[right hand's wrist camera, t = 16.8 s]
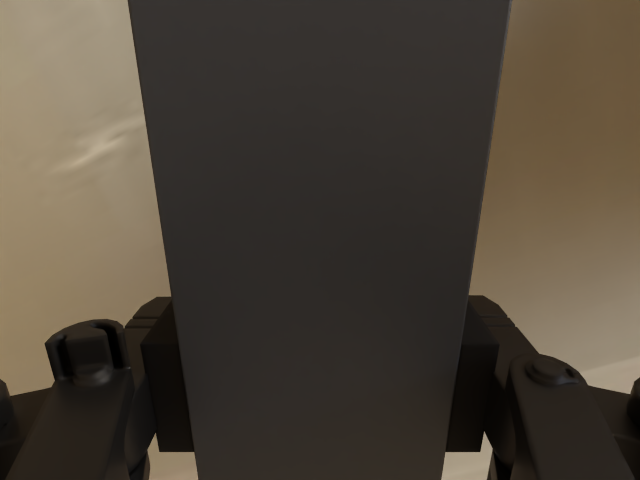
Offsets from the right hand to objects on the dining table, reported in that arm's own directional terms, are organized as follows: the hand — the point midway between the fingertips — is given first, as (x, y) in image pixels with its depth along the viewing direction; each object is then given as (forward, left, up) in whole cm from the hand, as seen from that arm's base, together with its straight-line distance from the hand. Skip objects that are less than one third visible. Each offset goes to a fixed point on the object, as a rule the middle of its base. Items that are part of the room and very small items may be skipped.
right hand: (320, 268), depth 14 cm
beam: (+8, +25, -1) cm, 26 cm away
